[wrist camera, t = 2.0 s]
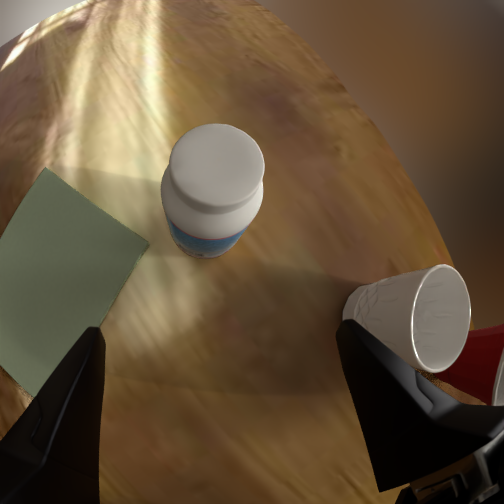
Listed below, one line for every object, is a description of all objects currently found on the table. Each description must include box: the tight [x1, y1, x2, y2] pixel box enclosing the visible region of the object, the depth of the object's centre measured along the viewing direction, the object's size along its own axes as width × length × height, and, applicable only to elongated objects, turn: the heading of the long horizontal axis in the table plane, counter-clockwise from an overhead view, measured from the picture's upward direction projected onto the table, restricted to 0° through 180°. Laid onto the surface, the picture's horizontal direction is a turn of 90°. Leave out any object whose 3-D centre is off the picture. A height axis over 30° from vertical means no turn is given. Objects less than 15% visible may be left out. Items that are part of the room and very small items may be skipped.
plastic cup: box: [434, 324, 504, 406], centre depth 21 cm, size 11×11×12 cm
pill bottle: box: [161, 124, 264, 259], centre depth 18 cm, size 6×6×11 cm
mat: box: [0, 167, 149, 398], centre depth 19 cm, size 19×14×1 cm
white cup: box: [342, 264, 471, 373], centre depth 20 cm, size 8×8×10 cm
